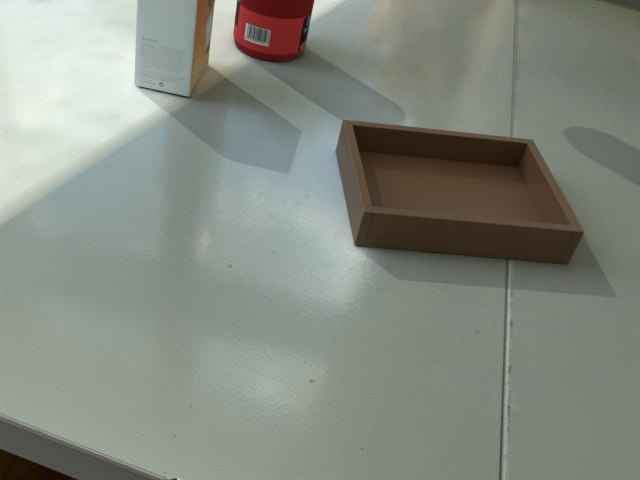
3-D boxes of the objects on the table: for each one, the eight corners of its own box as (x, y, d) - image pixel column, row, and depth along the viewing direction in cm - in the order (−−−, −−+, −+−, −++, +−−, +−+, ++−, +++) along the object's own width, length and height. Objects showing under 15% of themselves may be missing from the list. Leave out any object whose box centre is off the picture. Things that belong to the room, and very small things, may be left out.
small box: (189, 99, 74) (198, -11, 67) (132, 86, 75) (136, -25, 68) (210, 64, 80) (221, -40, 73) (157, 52, 81) (163, -53, 74)
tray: (519, 169, 73) (533, 139, 71) (568, 264, 63) (585, 232, 61) (335, 151, 71) (342, 119, 69) (354, 245, 61) (363, 211, 59)
